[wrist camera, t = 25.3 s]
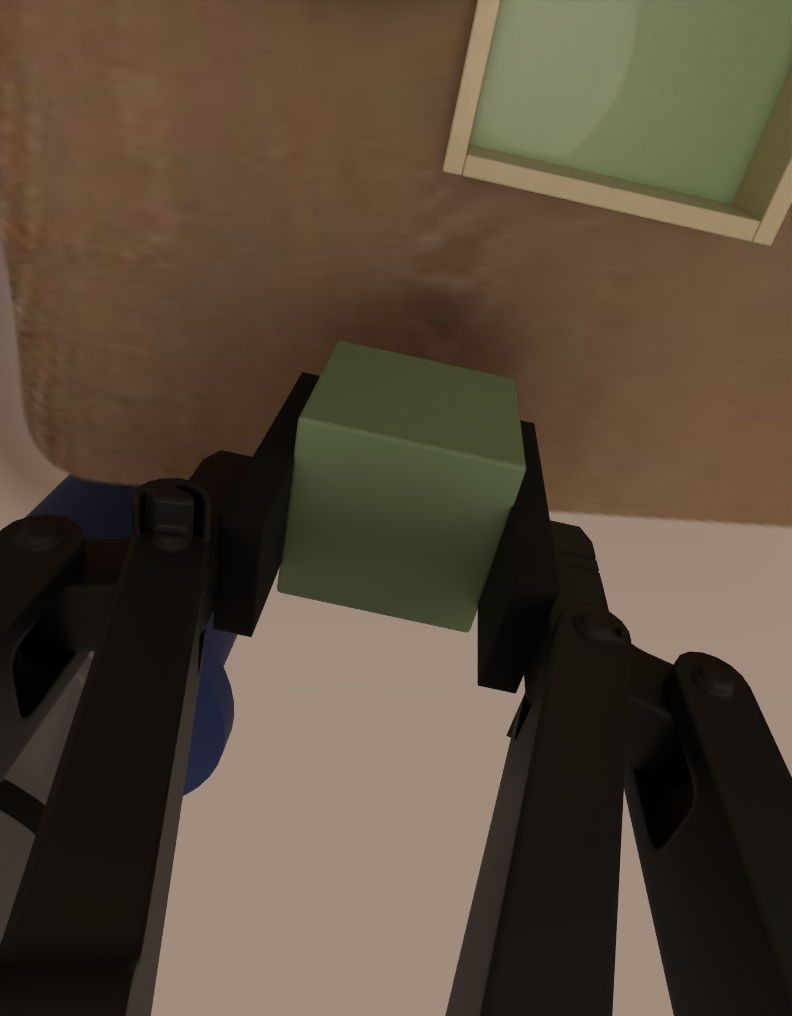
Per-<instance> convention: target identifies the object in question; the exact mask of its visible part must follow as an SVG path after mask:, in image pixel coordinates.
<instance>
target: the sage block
mask: <svg viewBox="0 0 792 1016" xmlns="http://www.w3.org/2000/svg"><path fill="white" fill-rule="evenodd" d="M525 471H526V464H525V455H524V447H523V439H522V431H521V423H520V415H519V407H518V399H517V391H516V383H515V380H514V379H511V378H506V377H502V376H497V375H493V374H488V373H484V372H479V371H475V370H471V369H466V368H462V367H457V366H453V365H448V364H444V363H439V362H435V361H430V360H426V359H421V358H417V357H412V356H408V355H403V354H399V353H394V352H390V351H385V350H381V349H376V348H372V347H367V346H363V345H359V344H354V343H350V342H345V341H338V343H337V344H336V346H335V348H334V350H333V352H332V354H331V356H330V358H329V360H328V362H327V364H326V366H325V368H324V370H323V372H322V374H321V376H320V378H319V380H318V381H317V383H316V385H315V387H314V389H313V391H312V393H311V395H310V397H309V399H308V401H307V403H306V405H305V407H304V409H303V411H302V413H301V415H300V417H299V419H298V424H297V432H296V441H295V449H294V463H293V471H292V479H291V487H290V495H289V503H288V511H287V519H286V527H285V535H284V543H283V551H282V560H281V565H280V570H279V577H278V585H277V588H278V591H279V592H281V593H285V594H290V595H294V596H300V597H304V598H308V599H313V600H318V601H322V602H327V603H332V604H336V605H341V606H346V607H350V608H355V609H360V610H365V611H369V612H374V613H378V614H383V615H387V616H393V617H397V618H402V619H406V620H411V621H416V622H420V623H425V624H429V625H434V626H439V627H444V628H448V629H453V630H458V631H463V632H469V630H470V629H471V626H472V623H473V620H474V618H475V615H476V612H477V609H478V603H479V600H480V598H481V595H482V592H483V589H484V586H485V583H486V580H487V577H488V575H489V572H490V569H491V566H492V563H493V560H494V557H495V554H496V551H497V549H498V546H499V543H500V540H501V537H502V534H503V531H504V528H505V525H506V523H507V520H508V517H509V514H510V511H511V508H512V506H513V505H514V503H515V500H516V497H517V494H518V492H519V489H520V486H521V483H522V480H523V477H524V474H525Z"/></svg>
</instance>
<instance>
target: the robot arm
mask: <svg viewBox="0 0 792 1016" xmlns="http://www.w3.org/2000/svg"><path fill="white" fill-rule="evenodd" d="M319 378H320V376H317V375H313V374H308V373H304V372H302V374H301V376H300V377H299V379H298V381H297V382H296V384H295V386H294V388H293V389H292V391H291V393H290V394H289V396H288V398H287V399H286V401H285V403H284V405H283V406H282V408H281V410H280V411H279V413H278V415H277V417H276V418H275V420H274V422H273V423H272V425H271V427H270V428H269V430H268V432H267V434H266V435H265V437H264V439H263V440H262V442H261V444H260V446H259V447H258V449H257V451H256V452H255V454H254V456H253V457H250V456H245V455H241V454H236V453H232V452H227V451H223V450H220V451H218V452H216V453H214V454H212V455H210V456H209V457H207V458H205V459H203V461H202V462H201V463H200V465H199V466H198V468H197V469H196V470H195V472H194V475H192V476H191V477H190V479H189V480H183V479H178V478H162V479H158V480H154V481H149V482H147V483H145V484H143V485H141V486H139V487H138V488H137V489H136V490H135V492H134V493H133V494H132V528H133V535H132V537H129V538H124V539H84V536H83V531H82V528H81V527H80V526H79V525H78V524H77V523H76V522H75V521H73V520H70V519H68V518H65V517H62V516H54V515H38V516H29V517H26V518H23V519H20V520H17V521H14V522H12V523H11V524H9V525H8V526H6V527H5V528H3V529H2V530H1V531H0V1016H150V1015H151V1010H152V1003H153V996H154V989H155V982H156V975H157V969H158V962H159V954H160V948H161V941H162V934H163V928H164V921H165V914H166V907H167V900H168V893H169V887H170V880H171V873H172V866H173V859H174V852H175V846H176V838H177V832H178V825H179V818H180V811H181V805H182V798H183V791H184V784H185V777H186V770H187V764H188V757H189V750H190V743H191V736H192V729H193V723H194V716H195V709H196V702H197V695H198V688H199V682H200V675H201V668H202V661H203V654H204V647H205V634H206V625H207V623H208V621H209V619H210V617H211V615H212V613H213V611H214V617H213V629H216V630H220V631H225V632H230V633H234V634H239V635H244V636H248V637H252V634H253V632H254V629H255V627H256V624H257V622H258V619H259V617H260V615H261V612H262V610H263V607H264V605H265V602H266V599H267V597H268V595H269V592H270V590H271V587H272V585H273V582H274V580H275V577H276V575H277V572H278V570H279V567H280V565H281V560H282V551H283V543H284V535H285V527H286V519H287V511H288V503H289V495H290V487H291V479H292V471H293V463H294V449H295V441H296V432H297V424H298V419H299V417H300V415H301V413H302V411H303V409H304V407H305V405H306V403H307V401H308V399H309V397H310V395H311V393H312V391H313V389H314V387H315V385H316V383H317V381H318V380H319ZM520 423H521V431H522V439H523V447H524V455H525V464H526V471H525V474H524V477H523V480H522V483H521V486H520V489H519V492H518V494H517V497H516V500H515V503H514V505H513V506H512V508H511V511H510V514H509V517H508V520H507V523H506V525H505V528H504V531H503V534H502V537H501V540H500V543H499V546H498V549H497V551H496V554H495V557H494V560H493V563H492V566H491V569H490V572H489V575H488V577H487V580H486V583H485V586H484V589H483V592H482V595H481V598H480V600H479V603H478V686H483V687H488V688H492V689H497V690H502V691H507V692H511V693H516V692H517V689H518V687H519V684H520V682H521V680H522V678H523V675H524V680H525V694H524V697H523V699H522V701H521V703H520V706H519V708H518V710H517V713H516V715H515V717H514V719H513V722H512V724H511V726H510V729H509V731H508V733H507V736H508V737H511V740H510V745H509V749H508V753H507V757H506V761H505V766H504V770H503V774H502V778H501V783H500V787H499V791H498V796H497V800H496V804H495V808H494V813H493V817H492V821H491V825H490V830H489V834H488V838H487V842H486V846H485V851H484V855H483V859H482V864H481V867H480V872H479V876H478V880H477V884H476V889H475V893H474V897H473V901H472V906H471V910H470V914H469V918H468V922H467V927H466V931H465V935H464V939H463V944H462V948H461V952H460V957H459V961H458V965H457V969H456V973H455V977H454V982H453V987H452V990H451V995H450V999H449V1003H448V1007H447V1011H446V1016H612V1008H613V990H614V970H615V951H616V948H615V947H616V931H617V911H618V891H619V870H620V852H621V832H622V812H623V792H624V790H625V794H626V799H627V804H628V808H629V813H630V817H631V822H632V826H633V831H634V836H635V840H636V845H637V849H638V854H639V859H640V863H641V868H642V872H643V877H644V881H645V886H646V891H647V895H648V900H649V904H650V909H651V913H652V918H653V922H654V926H655V932H656V936H657V941H658V945H659V949H660V954H661V959H662V964H663V967H664V973H665V977H666V982H667V986H668V991H669V996H670V1000H671V1005H672V1009H673V1014H674V1016H792V777H791V775H790V773H789V771H788V769H787V766H786V764H785V762H784V760H783V758H782V755H781V753H780V751H779V749H778V747H777V745H776V743H775V740H774V738H773V736H772V734H771V732H770V729H769V727H768V725H767V723H766V721H765V718H764V716H763V714H762V712H761V710H760V708H759V705H758V703H757V701H756V699H755V697H754V695H753V693H752V690H751V688H750V687H749V685H748V683H747V682H746V681H745V680H744V678H743V676H742V675H741V674H740V673H738V672H737V671H736V670H735V669H734V668H733V667H732V666H731V665H729V664H727V663H726V662H724V661H722V660H720V659H718V658H717V657H714V656H711V655H708V654H705V653H701V652H687V653H684V654H681V655H680V656H679V658H678V659H677V660H676V662H675V664H674V665H673V664H671V663H668V662H666V661H664V660H662V659H659V658H657V657H655V656H653V655H650V654H648V653H646V652H644V651H643V650H641V649H638V648H637V647H635V646H634V645H633V644H631V639H630V634H629V631H628V630H627V628H626V627H625V625H624V624H623V622H622V621H621V620H619V619H618V618H617V617H616V616H614V615H613V614H612V613H610V612H609V610H608V606H607V601H606V597H605V594H604V589H603V585H602V581H601V577H600V573H598V571H599V569H598V564H597V561H596V560H595V558H596V557H595V552H594V548H593V544H592V542H591V540H590V539H589V538H588V537H587V535H586V534H585V533H584V532H583V530H582V529H581V528H580V527H578V526H573V525H569V524H564V523H560V522H555V521H550V518H549V512H548V506H547V499H546V493H545V487H544V481H543V475H542V468H541V462H540V456H539V450H538V444H537V438H536V431H535V425H534V423H530V422H525V421H521V420H520Z"/></svg>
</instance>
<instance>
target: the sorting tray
mask: <svg viewBox="0 0 792 1016" xmlns="http://www.w3.org/2000/svg"><path fill="white" fill-rule="evenodd" d="M443 171H444V172H447V173H451V174H456V175H462V174H463V176H464V177H469V178H473V179H477V180H482V181H486V182H490V183H495V184H499V185H504V186H508V187H512V188H517V189H521V190H525V191H530V192H534V193H538V194H543V195H547V196H552V197H556V198H560V199H565V200H569V201H573V202H578V203H582V204H587V205H591V206H595V207H600V208H604V209H608V210H613V211H617V212H621V213H626V214H630V215H635V216H639V217H643V218H648V219H652V220H656V221H661V222H665V223H669V224H674V225H678V226H683V227H687V228H691V229H696V230H700V231H704V232H709V233H713V234H717V235H722V236H726V237H731V238H735V239H739V240H744V241H748V242H750V241H752V242H753V243H757V244H761V245H766V246H771V245H772V243H773V241H774V239H775V237H776V234H777V232H778V230H779V228H780V226H781V224H782V222H783V220H784V218H785V216H786V214H787V212H788V209H789V207H790V205H791V203H792V0H477V5H476V10H475V15H474V19H473V24H472V29H471V34H470V39H469V44H468V48H467V53H466V58H465V63H464V68H463V73H462V77H461V82H460V87H459V92H458V97H457V102H456V106H455V111H454V116H453V121H452V126H451V131H450V135H449V140H448V145H447V150H446V155H445V160H444V164H443Z"/></svg>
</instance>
